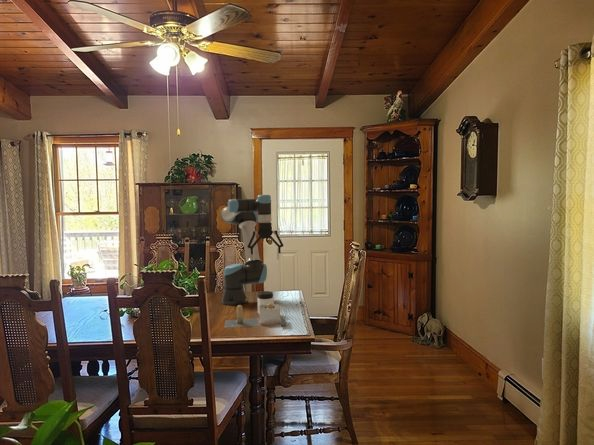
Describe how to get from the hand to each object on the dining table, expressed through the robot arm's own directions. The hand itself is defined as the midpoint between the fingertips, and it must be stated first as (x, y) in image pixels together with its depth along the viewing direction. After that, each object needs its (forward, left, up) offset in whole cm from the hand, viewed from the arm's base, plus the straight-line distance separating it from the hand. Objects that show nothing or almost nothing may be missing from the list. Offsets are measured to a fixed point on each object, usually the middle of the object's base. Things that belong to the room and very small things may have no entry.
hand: (265, 259), depth 240 cm
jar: (+8, -6, -29) cm, 31 cm away
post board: (+20, -20, -29) cm, 40 cm away
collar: (+24, -14, -28) cm, 39 cm away
